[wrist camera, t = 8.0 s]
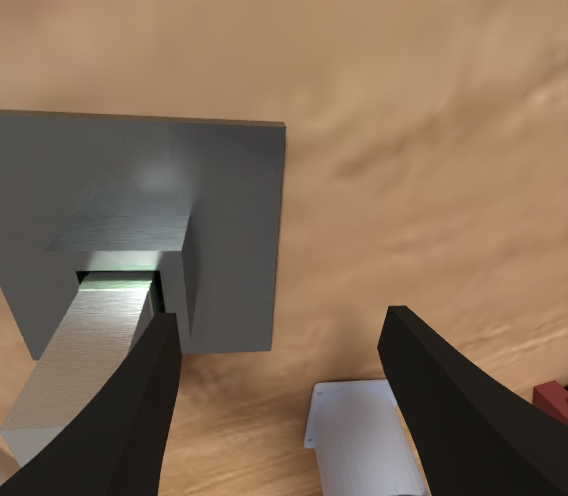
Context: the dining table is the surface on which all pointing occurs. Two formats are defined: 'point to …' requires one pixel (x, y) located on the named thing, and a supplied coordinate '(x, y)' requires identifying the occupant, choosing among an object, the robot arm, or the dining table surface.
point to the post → (80, 357)
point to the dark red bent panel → (552, 400)
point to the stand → (143, 219)
